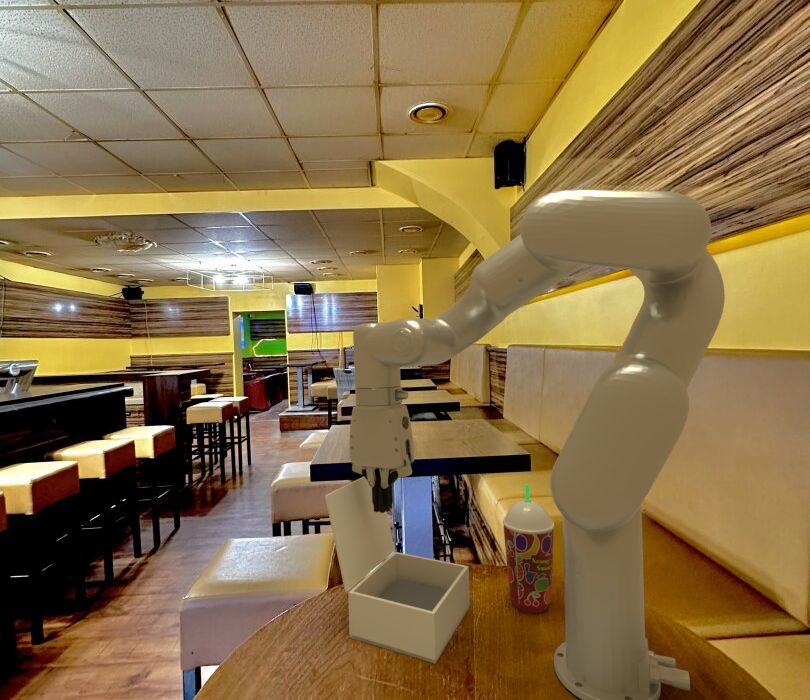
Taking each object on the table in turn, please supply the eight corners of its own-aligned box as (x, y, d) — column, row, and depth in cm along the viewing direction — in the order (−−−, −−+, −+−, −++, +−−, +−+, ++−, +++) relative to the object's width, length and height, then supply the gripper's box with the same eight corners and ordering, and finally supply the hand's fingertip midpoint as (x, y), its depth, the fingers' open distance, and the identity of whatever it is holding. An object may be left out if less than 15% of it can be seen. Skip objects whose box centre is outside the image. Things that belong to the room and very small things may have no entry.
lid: (377, 470, 83) (374, 470, 83) (326, 495, 69) (324, 495, 69) (395, 550, 81) (392, 550, 82) (347, 591, 67) (344, 591, 68)
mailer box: (469, 607, 75) (468, 566, 75) (435, 663, 61) (433, 614, 61) (395, 589, 81) (394, 551, 81) (349, 637, 68) (348, 592, 68)
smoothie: (546, 624, 69) (542, 495, 70) (496, 607, 74) (493, 487, 75) (563, 600, 76) (560, 482, 76) (517, 585, 81) (513, 475, 81)
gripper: (429, 396, 74) (433, 507, 74) (352, 395, 80) (356, 498, 80) (409, 400, 67) (414, 523, 67) (327, 400, 74) (332, 512, 73)
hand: (382, 509), depth 74 cm, fingers closed
